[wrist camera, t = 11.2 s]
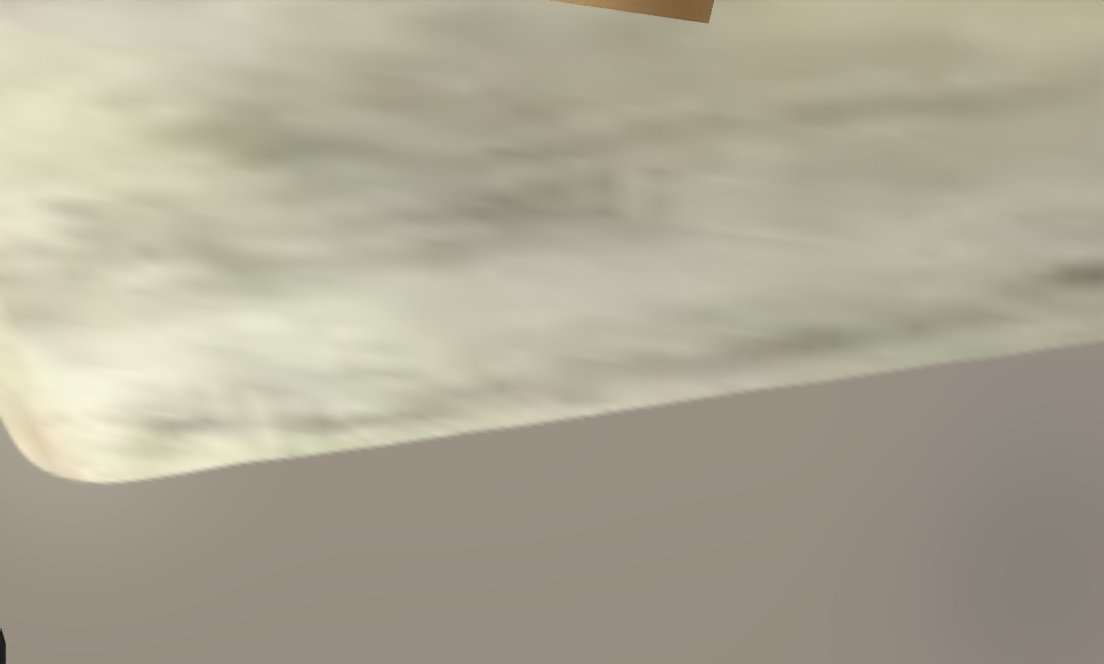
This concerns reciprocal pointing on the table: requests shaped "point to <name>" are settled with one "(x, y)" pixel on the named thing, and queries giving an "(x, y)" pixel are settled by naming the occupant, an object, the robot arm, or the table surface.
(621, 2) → the lid
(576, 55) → the table surface
